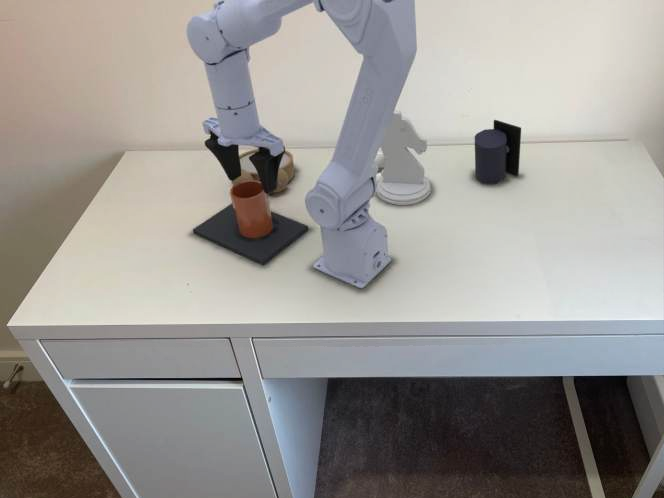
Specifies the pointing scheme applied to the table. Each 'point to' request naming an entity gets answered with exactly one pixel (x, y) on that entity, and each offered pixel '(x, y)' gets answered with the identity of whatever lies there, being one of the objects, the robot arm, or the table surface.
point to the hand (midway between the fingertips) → (252, 184)
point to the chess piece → (402, 164)
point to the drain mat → (257, 249)
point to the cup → (251, 209)
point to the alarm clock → (251, 173)
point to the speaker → (497, 152)
